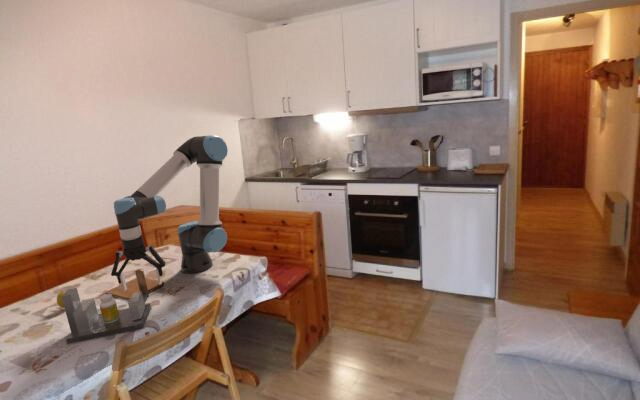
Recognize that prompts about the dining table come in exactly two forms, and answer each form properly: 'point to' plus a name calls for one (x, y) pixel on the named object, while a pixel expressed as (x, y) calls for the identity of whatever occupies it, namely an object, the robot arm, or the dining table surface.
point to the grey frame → (96, 319)
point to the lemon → (60, 299)
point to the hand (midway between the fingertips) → (142, 286)
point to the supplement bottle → (109, 309)
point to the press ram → (138, 297)
